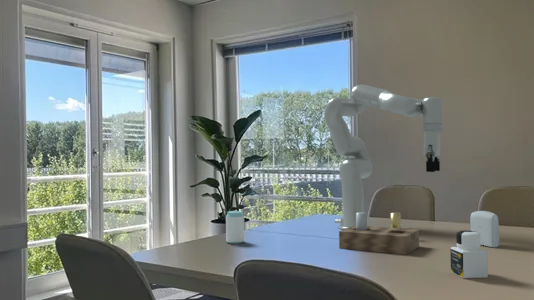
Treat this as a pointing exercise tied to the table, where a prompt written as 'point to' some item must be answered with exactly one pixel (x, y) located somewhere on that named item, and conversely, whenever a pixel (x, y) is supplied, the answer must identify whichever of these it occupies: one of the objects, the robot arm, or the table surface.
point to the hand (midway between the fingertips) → (433, 171)
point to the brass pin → (395, 220)
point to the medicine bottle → (469, 256)
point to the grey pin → (361, 221)
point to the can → (234, 227)
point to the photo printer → (486, 227)
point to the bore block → (380, 239)
